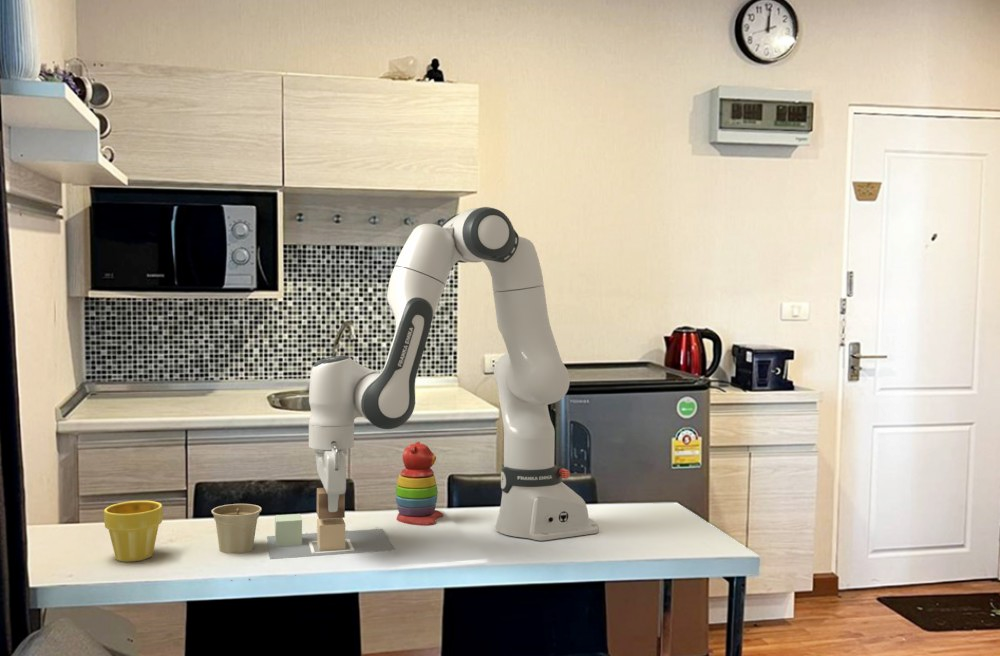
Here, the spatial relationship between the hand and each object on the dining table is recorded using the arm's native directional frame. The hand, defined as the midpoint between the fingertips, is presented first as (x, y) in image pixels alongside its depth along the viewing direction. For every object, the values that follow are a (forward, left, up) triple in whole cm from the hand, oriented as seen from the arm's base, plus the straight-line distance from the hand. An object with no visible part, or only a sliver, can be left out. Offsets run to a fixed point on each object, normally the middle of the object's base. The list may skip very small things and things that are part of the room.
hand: (330, 507), depth 176 cm
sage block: (+8, -5, -8) cm, 12 cm away
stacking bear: (-21, -17, -9) cm, 29 cm away
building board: (0, -3, -9) cm, 9 cm away
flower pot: (+18, -3, -9) cm, 20 cm away
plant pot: (+37, -5, -9) cm, 38 cm away
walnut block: (0, 0, -2) cm, 2 cm away
